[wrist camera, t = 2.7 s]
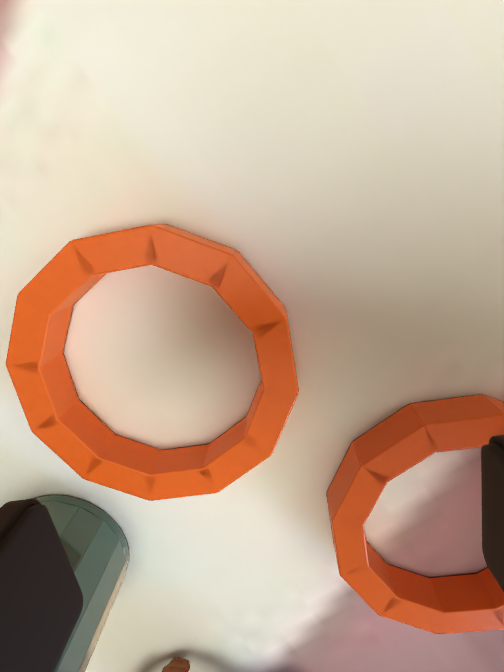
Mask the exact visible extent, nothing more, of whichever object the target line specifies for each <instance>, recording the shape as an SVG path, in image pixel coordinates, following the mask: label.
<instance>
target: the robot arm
mask: <svg viewBox="0 0 504 672" xmlns="http://www.w3.org/2000/svg"><path fill="white" fill-rule="evenodd" d="M481 471H482V548H483V554H484V558H485V561H486V563H487V566H488V568H489V569H490V571H491V573H492V574H493V576H494V578H495V579H496V581H497V582H498V584H499V586H500V587H501V589H502V590H503V592H504V435H497V436H492V437H491V438H490V440H489V444H487V445H483V446H482V450H481ZM82 608H83V593H82V591H81V588H80V586H79V583H78V581H77V579H76V576H75V574H74V571H73V569H72V566H71V564H70V562H69V559H68V557H67V554H66V552H65V550H64V547H63V545H62V542H61V540H60V538H59V535H58V533H57V530H56V528H55V526H54V523H53V521H52V518H51V516H50V514H49V511H48V509H47V507H46V506H45V505H41V503H40V502H39V501H38V500H37V499H26V500H19V501H11V502H8V503H5V504H4V505H3V506H2V507H1V508H0V672H54V670H55V668H56V666H57V664H58V662H59V660H60V657H61V655H62V653H63V651H64V649H65V647H66V644H67V642H68V640H69V638H70V636H71V634H72V631H73V629H74V627H75V625H76V623H77V621H78V618H79V616H80V614H81V611H82Z"/></svg>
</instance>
